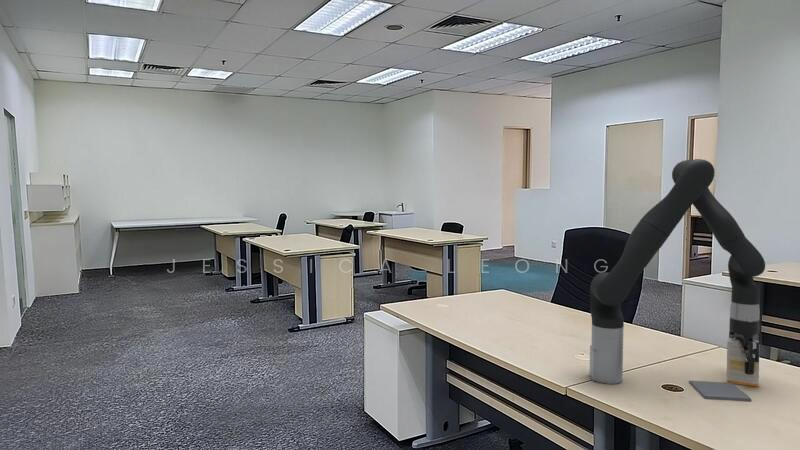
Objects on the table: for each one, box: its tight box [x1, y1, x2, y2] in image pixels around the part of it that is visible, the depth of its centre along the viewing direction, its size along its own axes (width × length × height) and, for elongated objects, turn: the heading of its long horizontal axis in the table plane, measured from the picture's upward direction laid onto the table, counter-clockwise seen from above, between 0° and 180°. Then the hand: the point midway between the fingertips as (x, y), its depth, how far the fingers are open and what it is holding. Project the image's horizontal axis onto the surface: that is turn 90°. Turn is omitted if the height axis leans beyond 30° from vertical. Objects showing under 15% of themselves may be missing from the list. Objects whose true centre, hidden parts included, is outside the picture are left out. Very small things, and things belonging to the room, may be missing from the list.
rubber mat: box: [688, 380, 752, 402], centre depth 153 cm, size 12×12×1 cm
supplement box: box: [726, 336, 761, 388], centre depth 160 cm, size 8×5×13 cm, turn 57°
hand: (742, 369), depth 160 cm, fingers open, 8 cm apart
